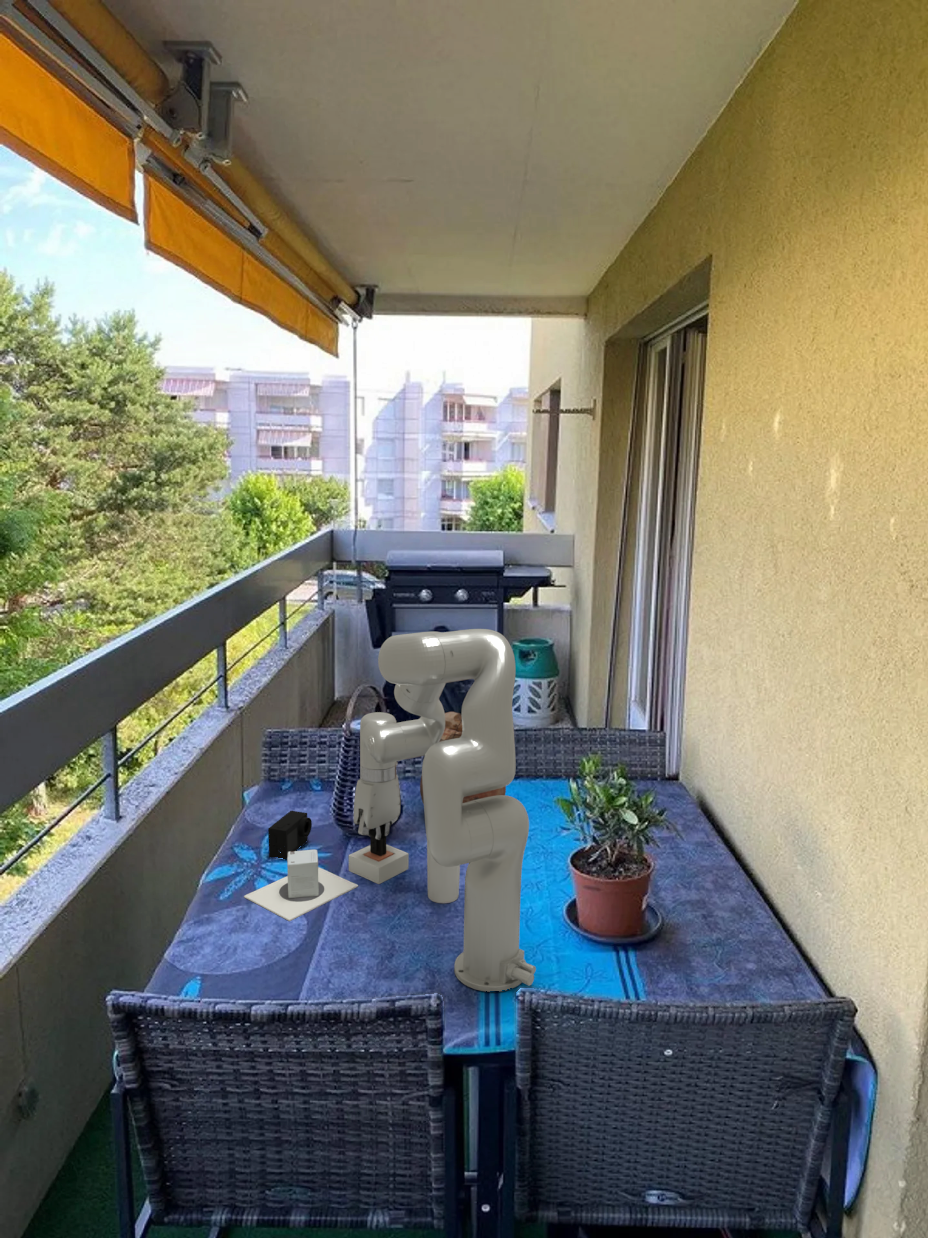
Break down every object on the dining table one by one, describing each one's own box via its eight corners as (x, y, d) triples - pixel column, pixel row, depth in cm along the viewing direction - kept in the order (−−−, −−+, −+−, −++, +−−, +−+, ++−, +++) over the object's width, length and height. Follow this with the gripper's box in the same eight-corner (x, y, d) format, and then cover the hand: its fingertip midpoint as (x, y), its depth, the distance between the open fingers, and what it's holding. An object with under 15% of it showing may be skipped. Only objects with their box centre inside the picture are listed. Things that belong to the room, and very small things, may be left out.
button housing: (408, 869, 189) (408, 853, 188) (378, 884, 182) (378, 868, 182) (378, 856, 195) (378, 841, 194) (348, 870, 188) (348, 855, 187)
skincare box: (319, 896, 176) (318, 862, 175) (288, 899, 175) (287, 864, 174) (318, 882, 182) (317, 848, 181) (288, 884, 181) (287, 851, 179)
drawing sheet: (358, 886, 181) (358, 884, 181) (289, 921, 167) (289, 919, 167) (312, 865, 190) (312, 864, 190) (244, 897, 176) (243, 895, 176)
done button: (393, 863, 189) (393, 853, 188) (378, 871, 185) (378, 860, 185) (378, 857, 191) (378, 847, 191) (364, 864, 188) (364, 854, 187)
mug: (455, 906, 174) (456, 849, 172) (422, 902, 175) (423, 846, 173) (466, 882, 184) (467, 828, 181) (435, 878, 185) (436, 825, 183)
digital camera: (290, 861, 192) (290, 831, 191) (268, 858, 193) (267, 828, 192) (312, 842, 202) (312, 813, 200) (291, 838, 203) (290, 810, 202)
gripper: (390, 758, 192) (390, 837, 196) (339, 777, 181) (340, 860, 185) (415, 766, 188) (415, 847, 191) (365, 786, 176) (365, 871, 180)
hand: (378, 853), depth 188 cm, fingers closed
